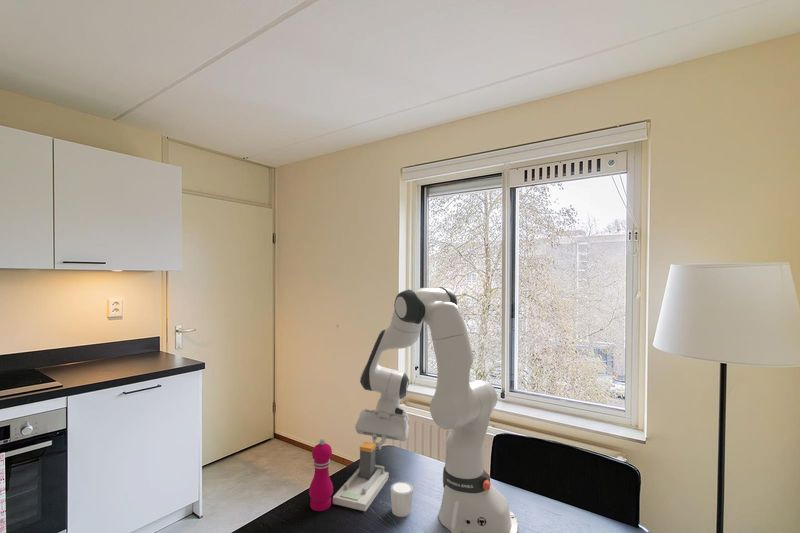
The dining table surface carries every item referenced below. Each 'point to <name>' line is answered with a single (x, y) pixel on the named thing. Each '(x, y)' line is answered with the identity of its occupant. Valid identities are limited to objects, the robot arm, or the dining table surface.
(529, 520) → the dining table surface
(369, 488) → the white slider switch base
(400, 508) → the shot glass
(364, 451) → the plate
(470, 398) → the robot arm
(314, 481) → the pepper mill
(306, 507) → the dining table surface
